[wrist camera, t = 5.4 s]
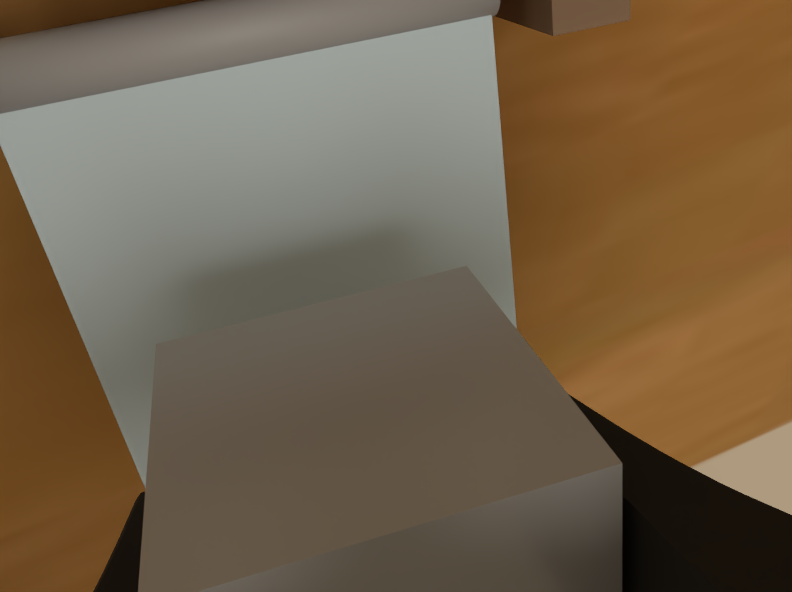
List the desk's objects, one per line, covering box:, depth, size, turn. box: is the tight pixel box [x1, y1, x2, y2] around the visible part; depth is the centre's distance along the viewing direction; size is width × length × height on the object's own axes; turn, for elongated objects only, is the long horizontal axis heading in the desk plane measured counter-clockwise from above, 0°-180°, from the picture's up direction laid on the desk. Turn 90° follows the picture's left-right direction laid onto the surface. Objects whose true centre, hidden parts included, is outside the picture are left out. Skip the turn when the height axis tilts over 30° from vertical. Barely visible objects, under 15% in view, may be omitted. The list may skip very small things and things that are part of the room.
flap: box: [0, 0, 517, 487], centre depth 14 cm, size 14×9×3 cm, turn 8°
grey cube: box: [138, 266, 622, 592], centre depth 11 cm, size 5×5×5 cm
